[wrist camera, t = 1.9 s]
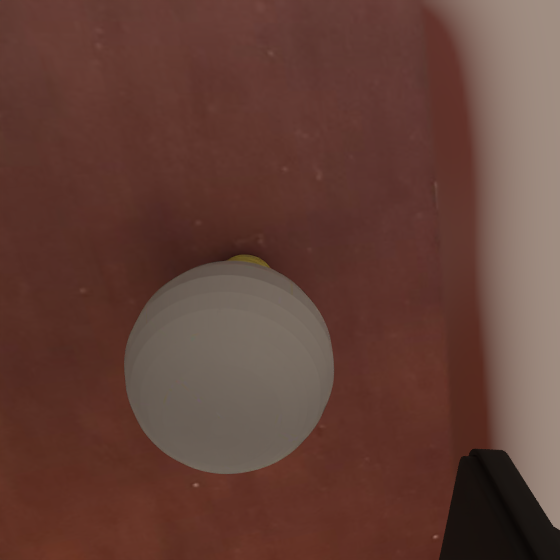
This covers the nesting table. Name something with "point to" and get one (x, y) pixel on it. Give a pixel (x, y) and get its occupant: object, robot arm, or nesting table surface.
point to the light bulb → (229, 366)
